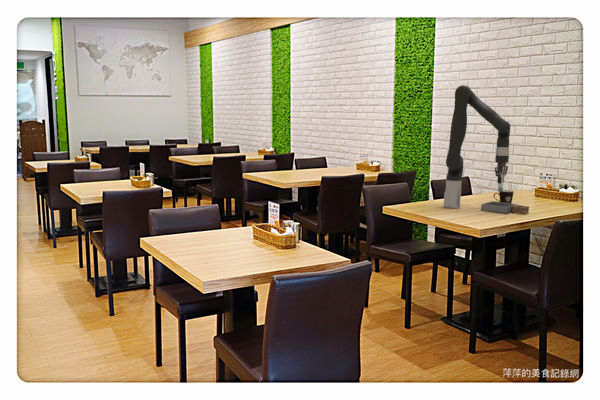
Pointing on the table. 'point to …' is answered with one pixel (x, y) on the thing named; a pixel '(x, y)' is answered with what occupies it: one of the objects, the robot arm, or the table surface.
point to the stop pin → (500, 185)
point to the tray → (497, 207)
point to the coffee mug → (505, 196)
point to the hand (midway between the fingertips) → (500, 182)
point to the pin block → (520, 209)
